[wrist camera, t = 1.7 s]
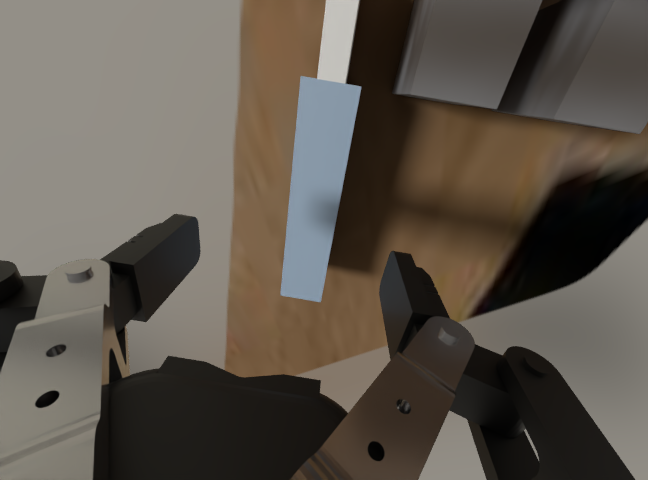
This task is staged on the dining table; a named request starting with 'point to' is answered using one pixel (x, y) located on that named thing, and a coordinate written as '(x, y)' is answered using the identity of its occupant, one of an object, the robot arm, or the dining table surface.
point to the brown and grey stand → (532, 59)
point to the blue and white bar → (320, 155)
